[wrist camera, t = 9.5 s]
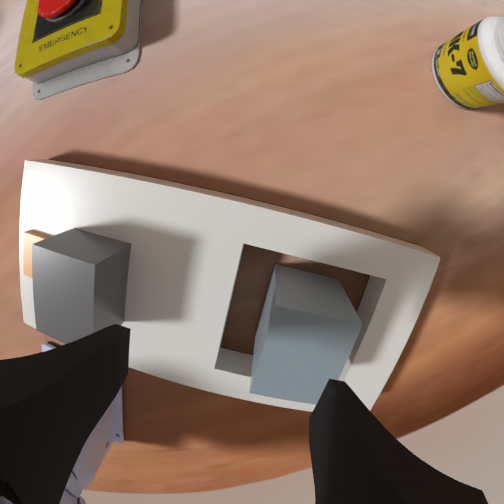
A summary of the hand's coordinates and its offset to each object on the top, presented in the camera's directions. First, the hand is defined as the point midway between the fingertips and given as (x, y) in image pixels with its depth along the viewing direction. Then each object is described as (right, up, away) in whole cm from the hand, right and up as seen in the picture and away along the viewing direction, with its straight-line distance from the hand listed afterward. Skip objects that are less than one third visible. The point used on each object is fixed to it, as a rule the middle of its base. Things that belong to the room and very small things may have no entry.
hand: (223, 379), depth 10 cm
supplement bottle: (+15, +16, +5) cm, 22 cm away
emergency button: (-11, +23, +5) cm, 26 cm away
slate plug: (+4, +1, +9) cm, 10 cm away
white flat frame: (-2, +2, +9) cm, 10 cm away
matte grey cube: (-8, +3, +7) cm, 11 cm away
